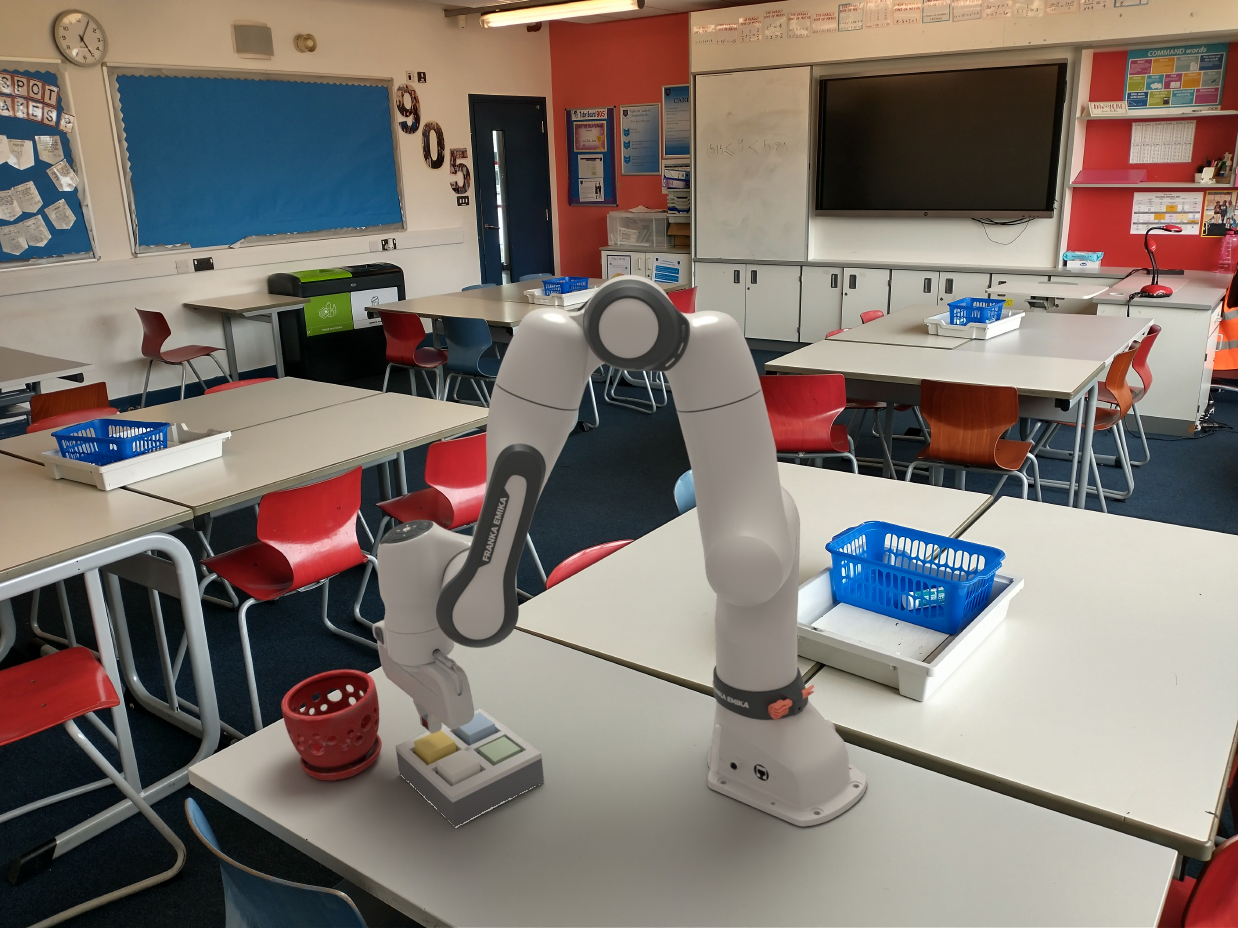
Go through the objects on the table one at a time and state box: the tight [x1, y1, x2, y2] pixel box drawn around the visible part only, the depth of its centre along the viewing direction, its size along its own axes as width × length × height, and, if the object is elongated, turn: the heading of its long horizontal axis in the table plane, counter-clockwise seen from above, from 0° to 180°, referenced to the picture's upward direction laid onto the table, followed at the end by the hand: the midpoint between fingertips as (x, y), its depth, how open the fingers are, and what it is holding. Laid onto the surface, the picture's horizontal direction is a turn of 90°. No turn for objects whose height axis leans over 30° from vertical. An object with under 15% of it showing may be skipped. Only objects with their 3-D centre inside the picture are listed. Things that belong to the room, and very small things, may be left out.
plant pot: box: [281, 669, 383, 781], centre depth 137 cm, size 13×13×12 cm
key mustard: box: [414, 730, 456, 765], centre depth 133 cm, size 4×4×3 cm
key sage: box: [479, 737, 521, 766], centre depth 132 cm, size 4×4×3 cm
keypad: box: [394, 708, 545, 828], centre depth 133 cm, size 16×14×5 cm
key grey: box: [436, 749, 481, 787], centre depth 128 cm, size 4×4×3 cm
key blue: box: [455, 712, 496, 746], centre depth 136 cm, size 4×4×3 cm
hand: (431, 727), depth 132 cm, fingers closed
